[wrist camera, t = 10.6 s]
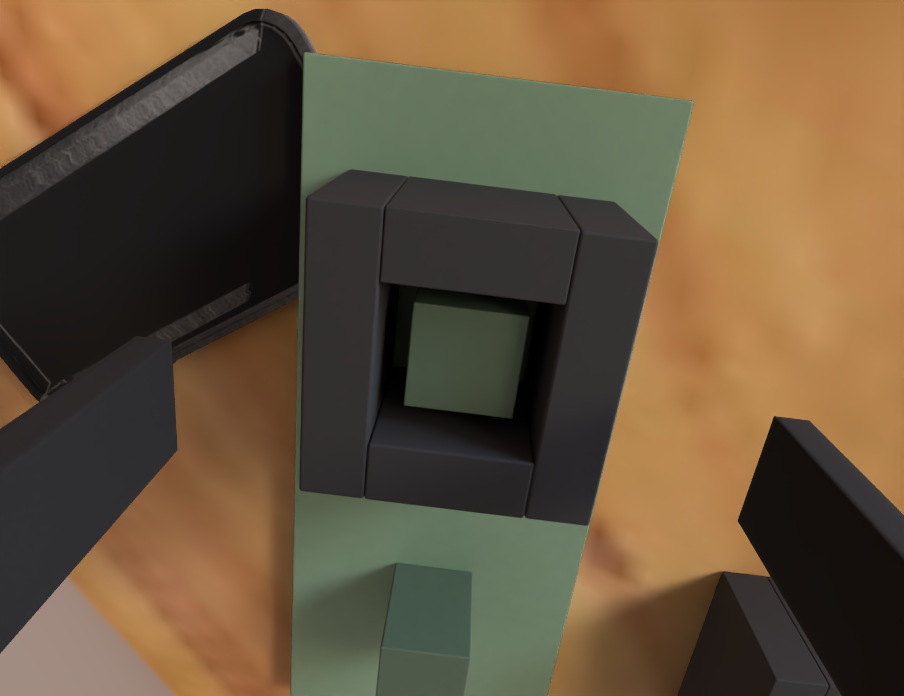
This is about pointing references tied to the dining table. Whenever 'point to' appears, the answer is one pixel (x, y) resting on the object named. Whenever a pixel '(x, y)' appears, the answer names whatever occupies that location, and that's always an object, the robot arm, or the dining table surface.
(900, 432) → the dining table surface
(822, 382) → the dining table surface
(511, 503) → the black square frame
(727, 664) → the hollow black block
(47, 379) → the phone
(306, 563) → the base pad
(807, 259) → the dining table surface
